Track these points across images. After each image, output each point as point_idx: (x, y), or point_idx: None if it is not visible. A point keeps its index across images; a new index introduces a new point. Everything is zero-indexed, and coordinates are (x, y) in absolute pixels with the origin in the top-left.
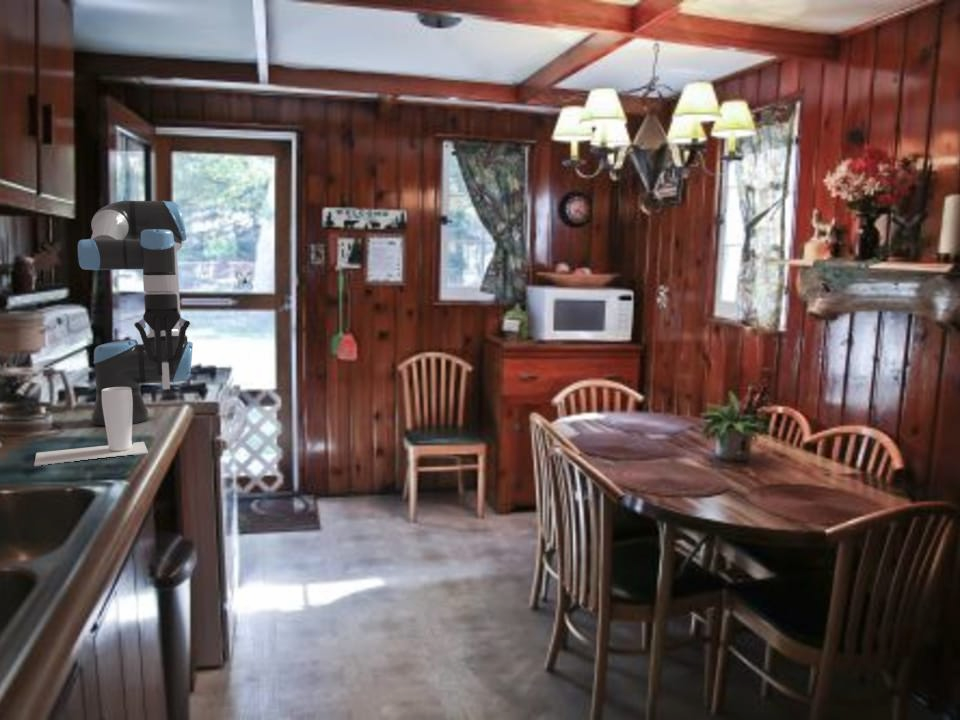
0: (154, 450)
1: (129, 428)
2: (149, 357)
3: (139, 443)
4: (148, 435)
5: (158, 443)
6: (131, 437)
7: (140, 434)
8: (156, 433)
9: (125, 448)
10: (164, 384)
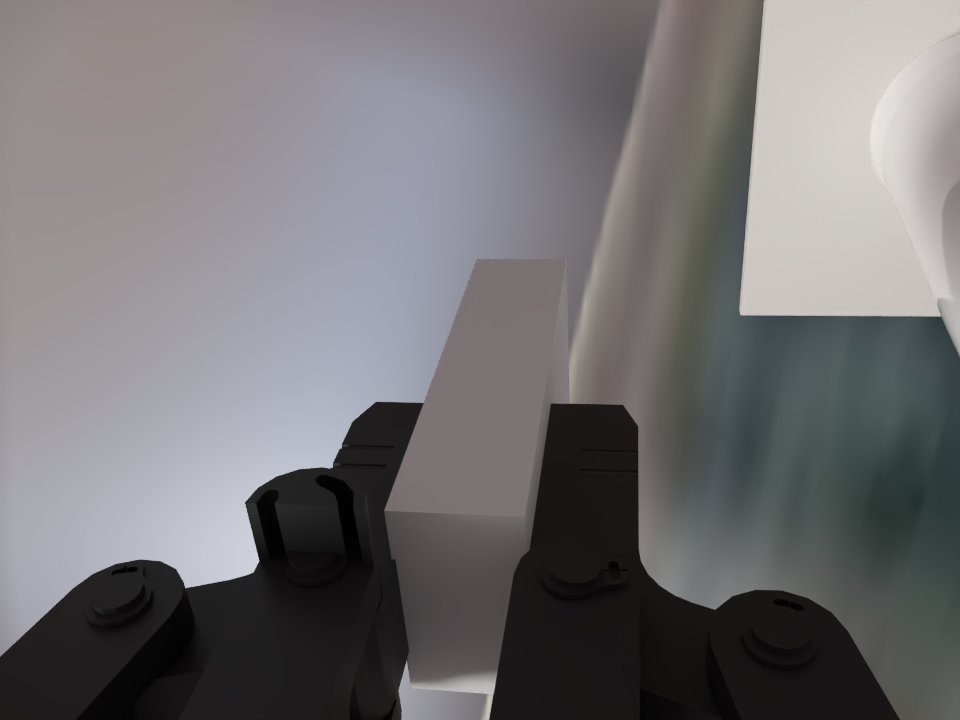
0: (703, 6)
1: (946, 102)
2: (834, 661)
3: (782, 265)
4: (674, 526)
5: (642, 253)
6: (895, 124)
7: (718, 576)
8: None
9: (945, 39)
10: (543, 292)
